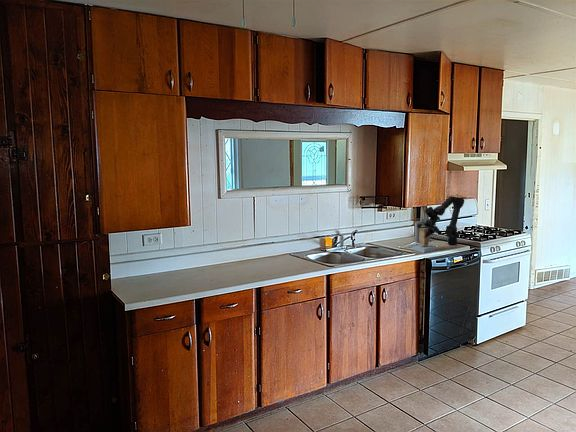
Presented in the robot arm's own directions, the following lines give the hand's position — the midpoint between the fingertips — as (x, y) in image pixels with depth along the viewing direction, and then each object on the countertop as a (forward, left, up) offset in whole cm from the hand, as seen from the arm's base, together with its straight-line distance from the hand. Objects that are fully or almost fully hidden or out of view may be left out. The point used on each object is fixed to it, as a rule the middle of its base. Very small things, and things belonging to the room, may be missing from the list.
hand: (422, 236), depth 364 cm
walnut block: (-1, -1, -7) cm, 7 cm away
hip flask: (-6, -36, -11) cm, 38 cm away
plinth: (-1, -1, -11) cm, 11 cm away
